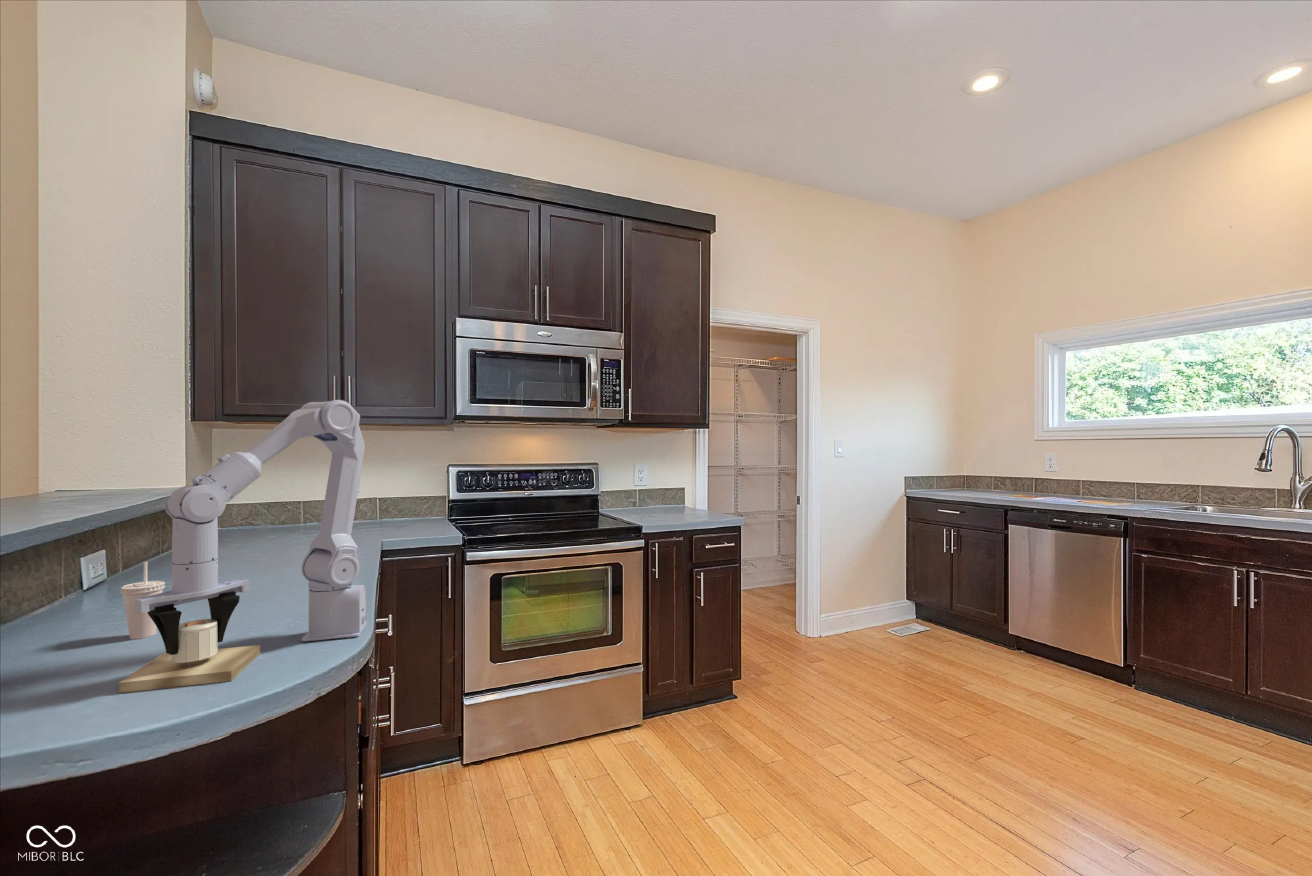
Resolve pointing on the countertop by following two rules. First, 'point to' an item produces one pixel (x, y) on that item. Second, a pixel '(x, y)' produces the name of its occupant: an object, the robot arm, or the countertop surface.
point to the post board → (190, 670)
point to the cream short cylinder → (196, 640)
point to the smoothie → (137, 622)
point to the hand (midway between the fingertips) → (195, 647)
